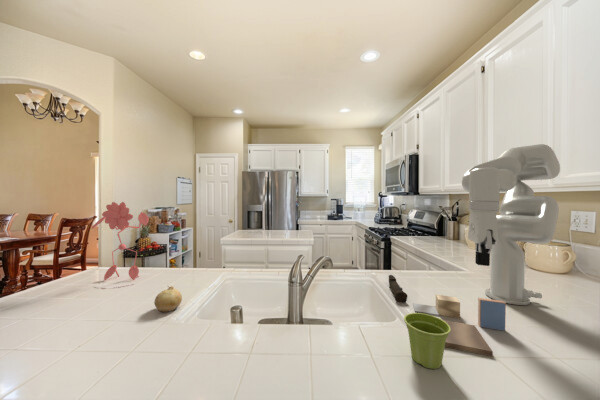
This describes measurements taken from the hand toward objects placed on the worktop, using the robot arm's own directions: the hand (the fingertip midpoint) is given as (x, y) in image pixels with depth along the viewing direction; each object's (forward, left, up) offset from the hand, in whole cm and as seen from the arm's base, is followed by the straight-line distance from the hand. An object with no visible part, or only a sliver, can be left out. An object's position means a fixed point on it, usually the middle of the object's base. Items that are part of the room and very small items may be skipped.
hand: (482, 264), depth 73 cm
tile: (0, +7, -17) cm, 18 cm away
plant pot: (+20, +29, -17) cm, 39 cm away
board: (+12, +16, -17) cm, 26 cm away
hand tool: (+26, -10, -17) cm, 32 cm away
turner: (+13, +2, -17) cm, 21 cm away
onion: (+96, +33, -17) cm, 103 cm away
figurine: (+138, +24, -17) cm, 141 cm away
